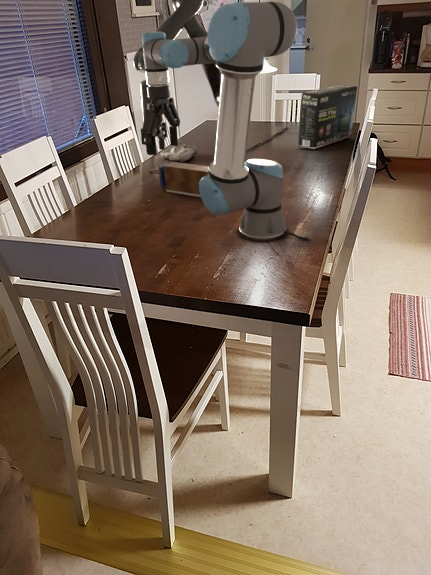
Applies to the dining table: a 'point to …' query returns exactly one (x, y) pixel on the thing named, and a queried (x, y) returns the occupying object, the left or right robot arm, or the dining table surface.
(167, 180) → the brown rectangular box
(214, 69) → the left robot arm
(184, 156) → the fossil
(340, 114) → the router box
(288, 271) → the dining table surface
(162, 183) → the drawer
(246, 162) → the right robot arm
